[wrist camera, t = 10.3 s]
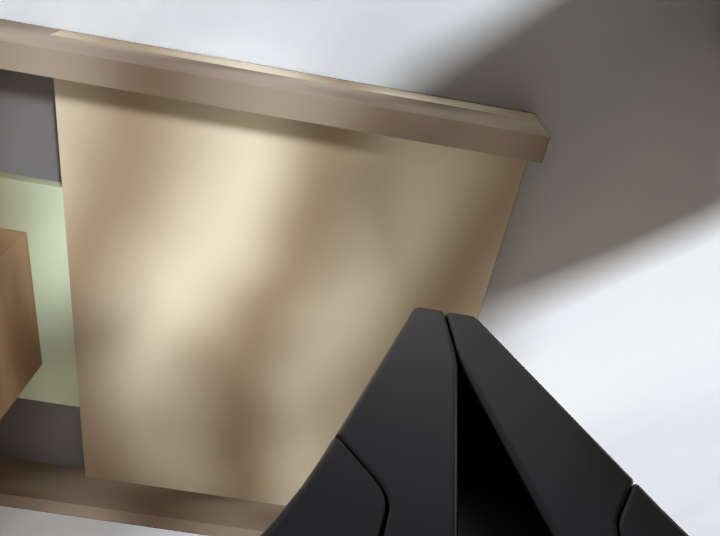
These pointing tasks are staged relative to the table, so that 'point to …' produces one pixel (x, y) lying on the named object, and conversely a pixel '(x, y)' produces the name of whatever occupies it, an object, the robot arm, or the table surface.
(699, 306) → the table surface
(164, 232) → the trap board
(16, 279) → the walnut block
